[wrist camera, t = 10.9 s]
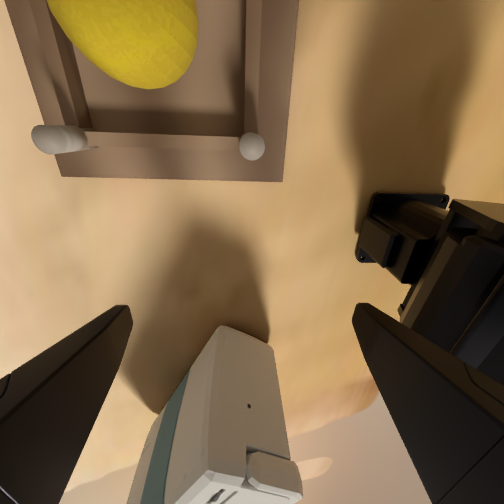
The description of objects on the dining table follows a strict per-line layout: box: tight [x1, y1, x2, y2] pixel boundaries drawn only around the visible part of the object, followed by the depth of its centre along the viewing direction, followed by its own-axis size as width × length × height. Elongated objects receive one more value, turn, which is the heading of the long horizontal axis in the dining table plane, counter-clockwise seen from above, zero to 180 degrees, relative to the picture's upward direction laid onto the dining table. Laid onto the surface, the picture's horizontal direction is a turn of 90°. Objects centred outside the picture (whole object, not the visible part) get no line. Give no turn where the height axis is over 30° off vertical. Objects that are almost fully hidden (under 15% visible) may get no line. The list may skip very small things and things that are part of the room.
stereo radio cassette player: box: [127, 325, 303, 504], centre depth 21 cm, size 21×8×20 cm, turn 150°
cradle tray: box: [4, 0, 299, 182], centre depth 12 cm, size 16×16×5 cm
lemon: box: [46, 0, 198, 89], centre depth 10 cm, size 6×6×8 cm
